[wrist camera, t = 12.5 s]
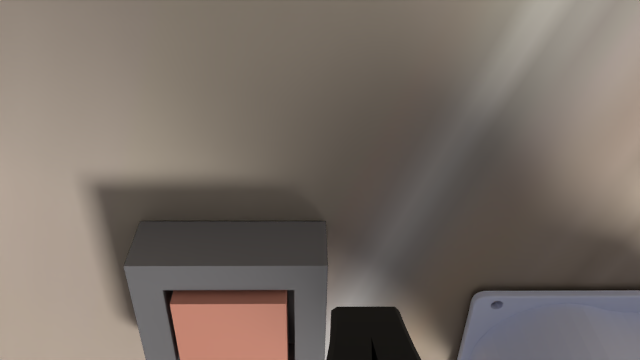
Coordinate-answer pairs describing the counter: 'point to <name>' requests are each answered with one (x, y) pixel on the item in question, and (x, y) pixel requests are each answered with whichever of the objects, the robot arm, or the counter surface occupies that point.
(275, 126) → the counter surface
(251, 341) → the button
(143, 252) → the button housing
